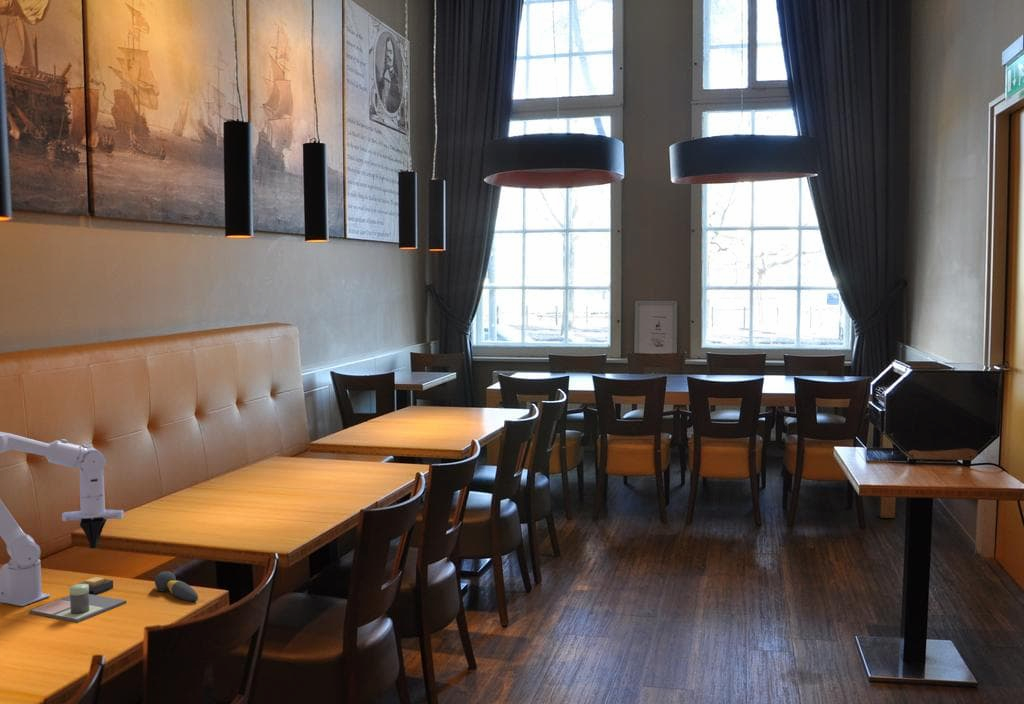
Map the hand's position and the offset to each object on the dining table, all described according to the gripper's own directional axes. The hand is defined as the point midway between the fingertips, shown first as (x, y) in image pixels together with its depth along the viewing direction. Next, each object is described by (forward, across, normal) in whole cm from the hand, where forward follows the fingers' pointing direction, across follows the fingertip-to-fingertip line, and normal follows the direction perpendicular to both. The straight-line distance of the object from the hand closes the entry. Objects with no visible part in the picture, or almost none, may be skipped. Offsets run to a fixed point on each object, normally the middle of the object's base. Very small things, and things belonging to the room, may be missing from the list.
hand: (94, 547), depth 230 cm
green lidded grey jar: (+10, +3, -20) cm, 23 cm away
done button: (+10, +1, -3) cm, 10 cm away
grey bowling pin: (+11, +23, -8) cm, 26 cm away
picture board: (+10, +1, -16) cm, 19 cm away
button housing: (+10, +1, -3) cm, 11 cm away
